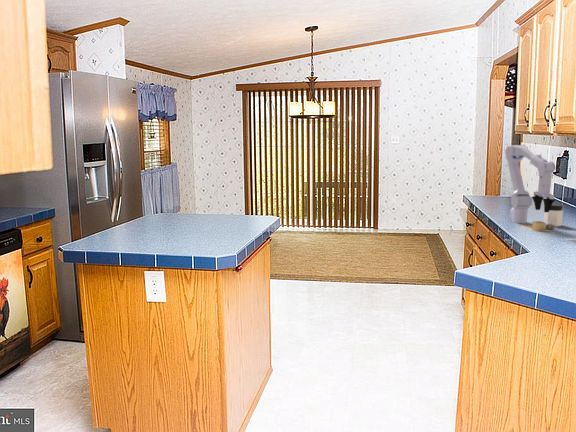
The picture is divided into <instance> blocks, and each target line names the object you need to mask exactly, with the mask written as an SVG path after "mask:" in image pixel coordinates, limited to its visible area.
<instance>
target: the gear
mask: <svg viewBox="0 0 576 432" xmlns="http://www.w3.org/2000/svg"><path fill="white" fill-rule="evenodd" d="M545 230H556V226H555V225H553V224H551V223H549V224H547V225H546V226H545Z"/></svg>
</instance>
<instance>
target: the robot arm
mask: <svg viewBox="0 0 576 432" xmlns="http://www.w3.org/2000/svg"><path fill="white" fill-rule="evenodd" d="M504 152H505V157H506V160H507V161H506V162H507V166H508V171H509V174H510V179H511V185H512V189H513V192H512V194H510V205H511V206H512V208H510V211H509V219H508V221H510V222H511V223H512V222H513V223H515V224H517V223H518V224H527V222H528V212H529V209H530V207H531V206H532V203H534V208H535V210H536V211H540V210H541V206H542V203H543V206H544V207H543V208H544V209H543V210H544V212H549V210H550V208H551V206H552V204H554V202H555V201H556V199H555V195H554V194H552V193H551V188H552V187H551V186H552V185H551V184H552V176H553V173H554V172H555V170H556V165H555V163H554V162H553V161H548V160H547V159H546V158H543V157H542V155H541V154H534V153H533V152H532V151H531V150H530V149H529V147H528V146H527V145H525V144H519V145H518V144H509V145H507V147H506V148H505V151H504ZM524 158H526V159H528V160H529V161H530V164H531V165H533V166H534V167H535V168H536V169H537V172H538V176H539V178H538V186H537V191H533V196H531V194H530V192H529V191H527V190H526V189H525V185H524V182H523V177H522V174H521V169H520V164H519V163H520V162H522V160H523V159H524Z"/></svg>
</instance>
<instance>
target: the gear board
mask: <svg viewBox="0 0 576 432" xmlns="http://www.w3.org/2000/svg"><path fill="white" fill-rule="evenodd" d="M519 227H520V228H521V227H522V228H524V229H527V230H530V231H534V232H540V231H536V230H533V229H532V224H530V225H529V224H527V225H525V224H524V225H521V224H520V225H519ZM544 232H559V230H557V229H555V230H545V231H544Z"/></svg>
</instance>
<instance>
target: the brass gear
mask: <svg viewBox="0 0 576 432" xmlns="http://www.w3.org/2000/svg"><path fill="white" fill-rule="evenodd" d="M531 225H532V229H533V230H536V231H539V232H546V231H545V227H546V223H545V222H544V221H541V220H537V221H535V220H533V221H532V223H531ZM533 230H532V231H533ZM536 231H535V232H536Z"/></svg>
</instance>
